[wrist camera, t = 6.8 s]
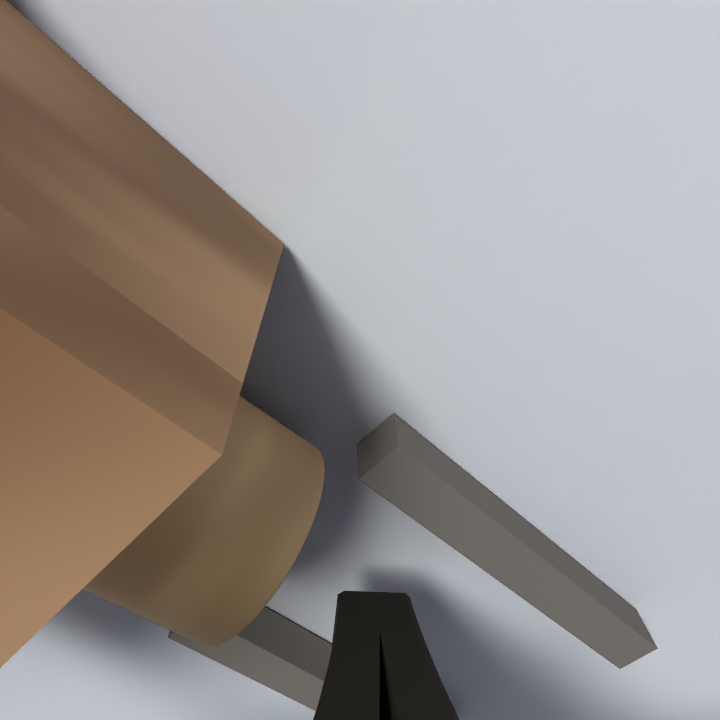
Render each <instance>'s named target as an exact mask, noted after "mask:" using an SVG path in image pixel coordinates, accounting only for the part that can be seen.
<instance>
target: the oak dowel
mask: <svg viewBox="0 0 720 720" xmlns="http://www.w3.org/2000/svg"><path fill="white" fill-rule="evenodd" d="M324 476H325V467H324V460H323V456H322V454H321V452H320V450H319V449H317V448H316V447H315V446H314V445H312V444H311V443H309V442H308V441H306V440H305V439H303V438H302V437H300V436H299V435H297V434H296V433H294V432H293V431H291V430H290V429H288V428H287V427H285V426H284V425H282V424H281V423H279V422H278V421H276V420H275V419H273V418H272V417H271V416H269V415H268V414H266V413H265V412H263V411H262V410H260V409H259V408H257V407H256V406H254V405H253V404H251V403H250V402H248V401H247V400H245V399H244V398H242V397H241V396H239V399H238V402H237V406H236V409H235V412H234V416H233V419H232V422H231V426H230V429H229V433H228V436H227V439H226V443H225V446H224V449H223V453H222V455H221V456H220V457H219V458H218V459H217V460H216V461H215V462H214V463H213V464H212V465H211V466H210V467H209V468H208V469H207V470H206V471H205V472H204V473H203V474H202V475H201V476H200V477H199V478H197V479H196V480H195V481H194V482H193V483H192V484H191V485H190V486H189V487H188V488H187V489H186V490H185V491H184V492H183V493H182V494H181V495H180V496H179V497H178V498H177V499H176V500H175V501H173V502H172V503H171V504H170V505H169V506H168V507H167V508H166V509H165V510H164V511H163V512H162V513H161V514H160V515H159V516H158V517H157V518H156V519H155V520H154V521H153V522H152V523H151V524H149V525H148V526H147V527H146V528H145V529H144V530H143V531H142V532H141V533H140V534H139V535H138V536H137V537H136V538H135V539H134V540H133V541H132V542H131V543H130V544H129V545H128V546H127V547H125V548H124V549H123V550H122V551H121V552H120V553H119V554H118V555H117V556H116V557H115V558H114V559H113V560H112V561H111V562H110V563H109V564H108V565H107V566H106V567H105V568H104V569H103V570H101V571H100V572H99V573H98V574H97V575H96V576H95V577H94V578H93V579H92V580H91V581H90V582H89V583H88V584H87V585H86V586H85V587H84V588H83V589H84V590H86V591H88V592H90V593H92V594H94V595H96V596H98V597H101V598H103V599H105V600H107V601H109V602H111V603H113V604H115V605H118V606H120V607H122V608H124V609H126V610H128V611H130V612H133V613H135V614H137V615H139V616H141V617H143V618H145V619H147V620H150V621H152V622H154V623H156V624H158V625H160V626H162V627H164V628H167V629H169V630H171V631H173V632H175V633H177V634H179V635H181V636H184V637H186V638H188V639H190V640H192V641H194V642H196V643H198V644H201V645H203V646H206V647H214V646H218V645H221V644H223V643H225V642H227V641H228V640H230V639H232V638H233V637H235V636H236V635H237V634H238V633H240V632H241V631H242V630H243V629H244V628H245V627H246V626H247V625H248V624H249V623H250V622H252V621H253V620H254V618H255V617H256V616H257V615H258V614H259V613H260V612H261V610H262V609H263V608H264V607H265V606H266V604H267V603H268V602H269V600H270V599H271V598H272V597H273V595H274V594H275V592H276V591H277V589H278V588H279V587H280V585H281V584H282V582H283V581H284V579H285V577H286V576H287V574H288V572H289V571H290V569H291V567H292V566H293V564H294V562H295V560H296V558H297V557H298V555H299V553H300V551H301V549H302V547H303V545H304V543H305V540H306V538H307V536H308V534H309V531H310V529H311V526H312V524H313V521H314V519H315V516H316V513H317V510H318V507H319V503H320V499H321V495H322V491H323V485H324Z"/></svg>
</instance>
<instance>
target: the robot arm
mask: <svg viewBox="0 0 720 720" xmlns="http://www.w3.org/2000/svg"><path fill="white" fill-rule="evenodd" d="M313 720H459V718H458V716H457V714H456V712H455V710H454V708H453V705H452V703H451V701H450V699H449V697H448V695H447V692H446V690H445V688H444V686H443V684H442V682H441V679H440V677H439V675H438V672H437V670H436V668H435V665H434V663H433V661H432V658H431V656H430V653H429V651H428V648H427V646H426V643H425V641H424V638H423V635H422V633H421V630H420V627H419V624H418V622H417V619H416V616H415V613H414V610H413V607H412V603H411V600H410V597H409V596H408V595H407V594H406V593H388V592H361V591H343V592H341V593H340V594H338V598H337V607H336V615H335V624H334V633H333V641H332V650H331V655H330V660H329V664H328V668H327V672H326V676H325V680H324V683H323V687H322V691H321V695H320V699H319V703H318V706H317V709H316V713H315V716H314V719H313Z"/></svg>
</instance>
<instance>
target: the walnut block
mask: <svg viewBox="0 0 720 720" xmlns="http://www.w3.org/2000/svg"><path fill="white" fill-rule="evenodd" d="M283 247H284V244H283V243H282V242H281V241H280V240H279V239H278V238H277V237H275V236H274V235H273V234H272V233H271V232H270V231H269V230H267V229H266V228H265V227H264V226H263V225H262V224H261V223H259V222H258V221H257V220H256V219H255V218H254V217H253V216H252V215H250V214H249V213H248V212H247V211H246V210H245V209H244V208H242V207H241V206H240V205H239V204H238V203H237V202H236V201H234V200H233V199H232V198H231V197H230V196H229V195H228V194H226V193H225V192H224V191H223V190H222V189H221V188H220V187H218V186H217V185H216V184H215V183H214V182H213V181H212V180H211V179H209V178H208V177H207V176H206V175H205V174H204V173H203V172H201V171H200V170H199V169H198V168H197V167H196V166H195V165H193V164H192V163H191V162H190V161H189V160H188V159H187V158H185V157H184V156H183V155H182V154H181V153H180V152H179V151H177V150H176V149H175V148H174V147H173V146H172V145H171V144H170V143H168V142H167V141H166V140H165V139H164V138H163V137H162V136H160V135H159V134H158V133H157V132H156V131H155V130H154V129H152V128H151V127H150V126H149V125H148V124H147V123H146V122H144V121H143V120H142V119H141V118H140V117H139V116H138V115H136V114H135V113H134V112H133V111H132V110H131V109H130V108H129V107H127V106H126V105H125V104H124V103H123V102H122V101H121V100H119V99H118V98H117V97H116V96H115V95H114V94H113V93H111V92H110V91H109V90H108V89H107V88H106V87H105V86H103V85H102V84H101V83H100V82H99V81H98V80H97V79H95V78H94V77H93V76H92V75H91V74H90V73H89V72H88V71H86V70H85V69H84V68H83V67H82V66H81V65H80V64H78V63H77V62H76V61H75V60H74V59H73V58H72V57H70V56H69V55H68V54H67V53H66V52H65V51H64V50H62V49H61V48H60V47H59V46H58V45H57V44H56V43H54V42H53V41H52V40H51V39H50V38H49V37H48V36H46V35H45V34H44V33H43V32H42V31H41V30H40V29H39V28H37V27H36V26H35V25H34V24H33V23H32V22H31V21H29V20H28V19H27V18H26V17H25V16H24V15H23V14H21V13H20V12H19V11H18V10H17V9H16V8H15V7H13V6H12V5H11V4H10V3H9V2H8V1H7V0H0V667H1V666H2V665H3V664H4V663H5V662H7V661H8V660H9V659H10V658H11V657H12V656H13V655H14V654H15V653H16V652H17V651H18V650H19V649H20V648H21V647H22V646H23V645H24V644H25V643H26V642H27V641H28V640H29V639H31V638H32V637H33V636H34V635H35V634H36V633H37V632H38V631H39V630H40V629H41V628H42V627H43V626H44V625H45V624H46V623H47V622H48V621H49V620H50V619H51V618H52V617H53V616H55V615H56V614H57V613H58V612H59V611H60V610H61V609H62V608H63V607H64V606H65V605H66V604H67V603H68V602H69V601H70V600H71V599H72V598H73V597H74V596H75V595H76V594H77V593H79V592H80V591H81V590H82V589H83V588H84V587H85V586H86V585H87V584H88V583H89V582H90V581H91V580H92V579H93V578H94V577H95V576H96V575H97V574H98V573H99V572H100V571H101V570H103V569H104V568H105V567H106V566H107V565H108V564H109V563H110V562H111V561H112V560H113V559H114V558H115V557H116V556H117V555H118V554H119V553H120V552H121V551H122V550H123V549H124V548H125V547H127V546H128V545H129V544H130V543H131V542H132V541H133V540H134V539H135V538H136V537H137V536H138V535H139V534H140V533H141V532H142V531H143V530H144V529H145V528H146V527H147V526H148V525H149V524H151V523H152V522H153V521H154V520H155V519H156V518H157V517H158V516H159V515H160V514H161V513H162V512H163V511H164V510H165V509H166V508H167V507H168V506H169V505H170V504H171V503H172V502H173V501H175V500H176V499H177V498H178V497H179V496H180V495H181V494H182V493H183V492H184V491H185V490H186V489H187V488H188V487H189V486H190V485H191V484H192V483H193V482H194V481H195V480H196V479H197V478H199V477H200V476H201V475H202V474H203V473H204V472H205V471H206V470H207V469H208V468H209V467H210V466H211V465H212V464H213V463H214V462H215V461H216V460H217V459H218V458H219V457H220V456H221V455H222V453H223V449H224V446H225V443H226V439H227V436H228V433H229V429H230V426H231V422H232V419H233V416H234V412H235V409H236V406H237V402H238V399H239V395H240V392H241V389H242V385H243V382H244V379H245V375H246V372H247V368H248V365H249V362H250V358H251V355H252V351H253V348H254V345H255V341H256V338H257V335H258V331H259V328H260V324H261V321H262V318H263V314H264V311H265V308H266V304H267V301H268V297H269V294H270V291H271V287H272V284H273V281H274V277H275V274H276V270H277V267H278V264H279V260H280V257H281V254H282V250H283Z"/></svg>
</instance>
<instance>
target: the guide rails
mask: <svg viewBox="0 0 720 720" xmlns="http://www.w3.org/2000/svg"><path fill="white" fill-rule="evenodd" d="M357 454H358V474H359V480H360V481H362V482H363V483H364V484H366V485H367V486H368V487H370V488H371V489H373V490H374V491H375V492H377V493H378V494H380V495H381V496H382V497H384V498H385V499H386V500H388V501H389V502H391V503H392V504H393V505H395V506H396V507H397V508H399V509H400V510H402V511H403V512H404V513H406V514H407V515H408V516H410V517H411V518H413V519H414V520H415V521H417V522H418V523H419V524H421V525H422V526H424V527H425V528H426V529H428V530H429V531H431V532H432V533H433V534H435V535H436V536H437V537H439V538H440V539H442V540H443V541H444V542H446V543H447V544H448V545H450V546H451V547H453V548H454V549H455V550H457V551H458V552H459V553H461V554H462V555H464V556H465V557H466V558H468V559H469V560H470V561H472V562H473V563H475V564H476V565H477V566H479V567H480V568H482V569H483V570H484V571H486V572H487V573H488V574H490V575H491V576H493V577H494V578H495V579H497V580H498V581H499V582H501V583H502V584H504V585H505V586H506V587H508V588H509V589H510V590H512V591H513V592H515V593H516V594H517V595H519V596H520V597H522V598H523V599H524V600H526V601H527V602H528V603H530V604H531V605H533V606H534V607H535V608H537V609H538V610H539V611H541V612H542V613H544V614H545V615H546V616H548V617H549V618H550V619H552V620H553V621H555V622H556V623H557V624H559V625H560V626H561V627H563V628H564V629H566V630H567V631H568V632H570V633H571V634H573V635H574V636H575V637H577V638H578V639H579V640H581V641H582V642H584V643H585V644H586V645H588V646H589V647H590V648H592V649H593V650H595V651H596V652H597V653H599V654H600V655H601V656H603V657H604V658H606V659H607V660H608V661H610V662H611V663H613V664H614V665H615V666H617V667H618V668H619V669H621V668H623V667H625V666H626V665H628V664H630V663H632V662H634V661H636V660H637V659H639V658H641V657H643V656H645V655H647V654H648V653H650V652H652V651H654V650H656V649H657V646H656V645H655V643H654V641H653V639H652V637H651V635H650V634H649V632H648V630H647V628H646V626H645V624H644V623H643V621H642V619H641V617H640V615H639V613H638V612H637V610H636V609H635V608H634V607H633V606H631V605H630V604H629V603H628V602H626V601H625V600H624V599H623V598H622V597H620V596H619V595H618V594H617V593H615V592H614V591H613V590H612V589H610V588H609V587H608V586H607V585H605V584H604V583H603V582H602V581H601V580H599V579H598V578H597V577H596V576H594V575H593V574H592V573H591V572H589V571H588V570H587V569H586V568H585V567H583V566H582V565H581V564H580V563H578V562H577V561H576V560H575V559H573V558H572V557H571V556H570V555H568V554H567V553H566V552H565V551H564V550H562V549H561V548H560V547H559V546H557V545H556V544H555V543H554V542H552V541H551V540H550V539H549V538H547V537H546V536H545V535H544V534H543V533H541V532H540V531H539V530H538V529H536V528H535V527H534V526H533V525H531V524H530V523H529V522H528V521H527V520H525V519H524V518H523V517H522V516H520V515H519V514H518V513H517V512H515V511H514V510H513V509H512V508H510V507H509V506H508V505H507V504H506V503H504V502H503V501H502V500H501V499H499V498H498V497H497V496H496V495H494V494H493V493H492V492H491V491H490V490H488V489H487V488H486V487H485V486H483V485H482V484H481V483H480V482H478V481H477V480H476V479H475V478H473V477H472V476H471V475H470V474H469V473H467V472H466V471H465V470H464V469H462V468H461V467H460V466H459V465H457V464H456V463H455V462H454V461H453V460H451V459H450V458H449V457H448V456H446V455H445V454H444V453H443V452H441V451H440V450H439V449H438V448H436V447H435V446H434V445H433V444H432V443H430V442H429V441H428V440H427V439H425V438H424V437H423V436H422V435H420V434H419V433H418V432H417V431H416V430H414V429H413V428H412V427H411V426H409V425H408V424H407V423H406V422H404V421H403V420H402V419H401V418H399V417H398V416H397V415H396V414H395V413H394V414H392V415H391V416H390V417H389V418H388V419H387V420H385V421H384V422H383V423H382V424H381V425H380V426H378V427H377V428H376V429H375V430H374V431H373V432H371V433H370V434H369V435H368V436H367V437H366V438H364V439H363V440H362V441H361V442H360V443H359V444H357ZM168 638H170V639H172V640H174V641H176V642H178V643H180V644H182V645H185V646H187V647H189V648H191V649H193V650H195V651H197V652H199V653H201V654H203V655H205V656H207V657H209V658H211V659H213V660H215V661H217V662H219V663H221V664H223V665H225V666H227V667H229V668H231V669H233V670H235V671H237V672H239V673H241V674H243V675H245V676H247V677H249V678H251V679H253V680H255V681H257V682H259V683H261V684H263V685H265V686H267V687H269V688H271V689H273V690H275V691H277V692H279V693H281V694H283V695H285V696H287V697H289V698H291V699H293V700H295V701H297V702H299V703H301V704H303V705H305V706H307V707H309V708H311V709H313V710H315V711H316V709H317V706H318V703H319V699H320V695H321V691H322V687H323V683H324V680H325V676H326V672H327V668H328V664H329V660H330V655H331V650H332V644H330V643H329V642H327V641H325V640H323V639H321V638H320V637H318V636H316V635H314V634H313V633H311V632H309V631H307V630H305V629H304V628H302V627H300V626H298V625H297V624H295V623H293V622H291V621H289V620H288V619H286V618H284V617H282V616H281V615H279V614H277V613H275V612H273V611H272V610H270V609H268V608H266V607H264V608H263V609H262V610H261V612H260V613H259V614H258V615H257V616H256V617H255V618H254V620H253V621H252V622H250V623H249V624H248V625H247V626H246V627H245V628H244V629H243V630H242V631H241V632H240V633H238V634H237V635H236V636H235V637H233V638H232V639H230V640H228V641H227V642H225V643H223V644H221V645H218V646H214V647H206V646H203V645H201V644H198V643H196V642H194V641H192V640H190V639H188V638H186V637H184V636H181V635H179V634H177V633H175V632H173V631H171V630H170V632H169V636H168Z"/></svg>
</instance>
